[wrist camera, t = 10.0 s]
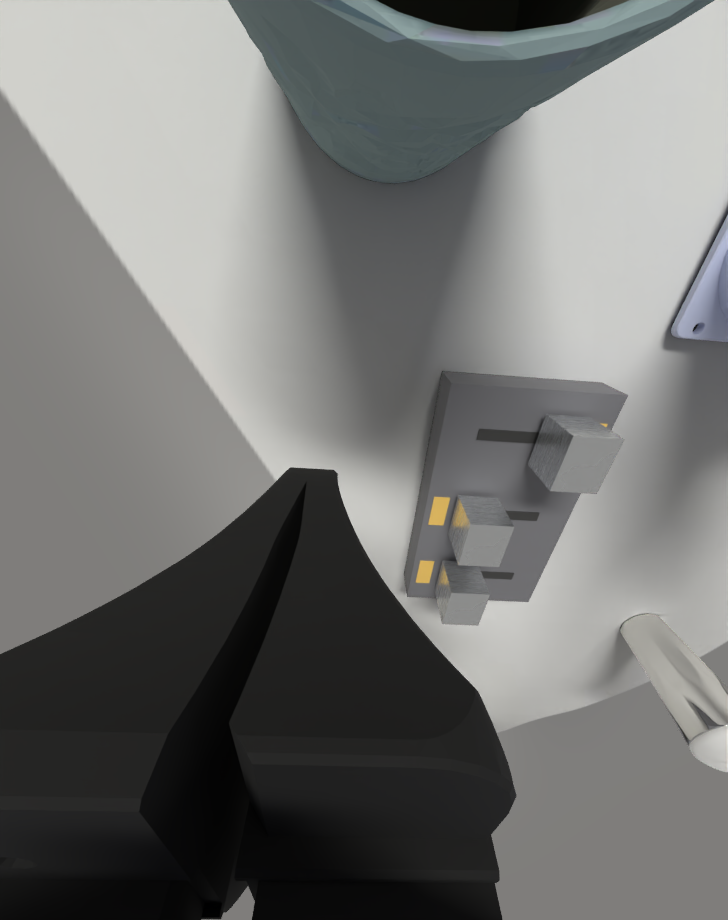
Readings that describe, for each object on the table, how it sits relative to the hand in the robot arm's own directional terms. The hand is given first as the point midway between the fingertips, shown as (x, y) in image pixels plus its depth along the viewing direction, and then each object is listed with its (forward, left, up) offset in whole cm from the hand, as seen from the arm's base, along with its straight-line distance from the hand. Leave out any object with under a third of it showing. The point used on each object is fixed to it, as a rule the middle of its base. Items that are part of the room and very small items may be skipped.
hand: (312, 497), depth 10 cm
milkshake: (-26, +18, -10) cm, 33 cm away
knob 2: (-8, +11, -7) cm, 16 cm away
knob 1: (-8, +6, -7) cm, 13 cm away
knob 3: (-11, +1, -7) cm, 14 cm away
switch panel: (-10, +6, -9) cm, 15 cm away
